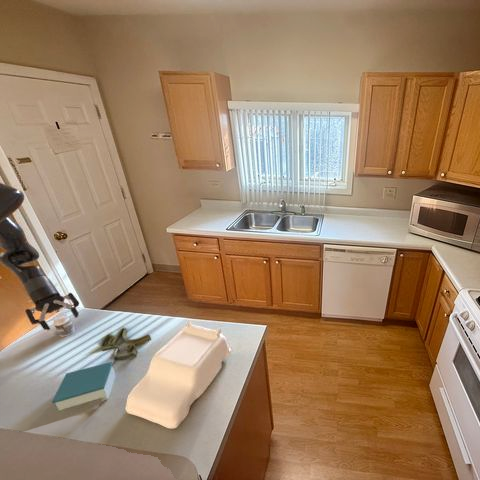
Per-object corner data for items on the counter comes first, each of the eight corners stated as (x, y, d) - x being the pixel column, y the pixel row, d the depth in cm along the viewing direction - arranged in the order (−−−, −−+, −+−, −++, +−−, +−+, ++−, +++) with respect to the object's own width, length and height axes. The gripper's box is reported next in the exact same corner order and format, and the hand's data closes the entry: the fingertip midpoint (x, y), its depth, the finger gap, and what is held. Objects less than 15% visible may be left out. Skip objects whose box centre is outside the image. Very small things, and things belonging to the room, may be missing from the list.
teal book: (59, 415, 75) (51, 401, 73) (72, 386, 83) (66, 373, 81) (109, 399, 80) (103, 387, 77) (117, 373, 88) (112, 361, 86)
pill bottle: (56, 335, 102) (48, 319, 99) (69, 327, 106) (62, 311, 103) (65, 338, 101) (57, 321, 98) (78, 329, 106) (71, 313, 102)
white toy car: (235, 352, 98) (231, 325, 93) (175, 434, 72) (166, 403, 66) (193, 341, 103) (187, 314, 97) (122, 414, 76) (109, 383, 71)
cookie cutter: (155, 339, 102) (154, 336, 102) (128, 363, 92) (126, 359, 91) (121, 329, 107) (119, 326, 106) (90, 351, 96) (89, 347, 95)
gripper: (14, 295, 94) (38, 331, 94) (64, 278, 105) (86, 310, 105) (16, 302, 99) (39, 336, 98) (64, 285, 110) (84, 315, 109)
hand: (63, 323), depth 102 cm, fingers open, 8 cm apart
